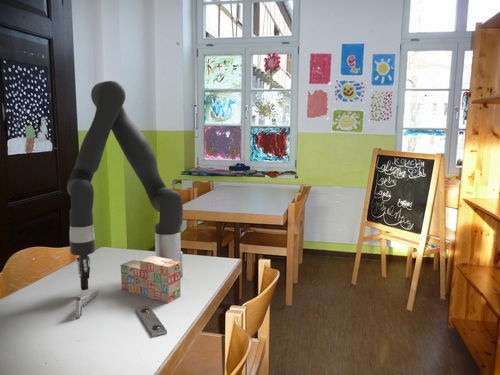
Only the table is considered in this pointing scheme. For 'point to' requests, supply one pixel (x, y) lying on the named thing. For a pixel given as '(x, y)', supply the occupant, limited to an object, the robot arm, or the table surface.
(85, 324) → the table surface
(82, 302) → the caliper
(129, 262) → the stack of blocks
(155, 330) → the bolt strip
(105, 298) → the table surface
